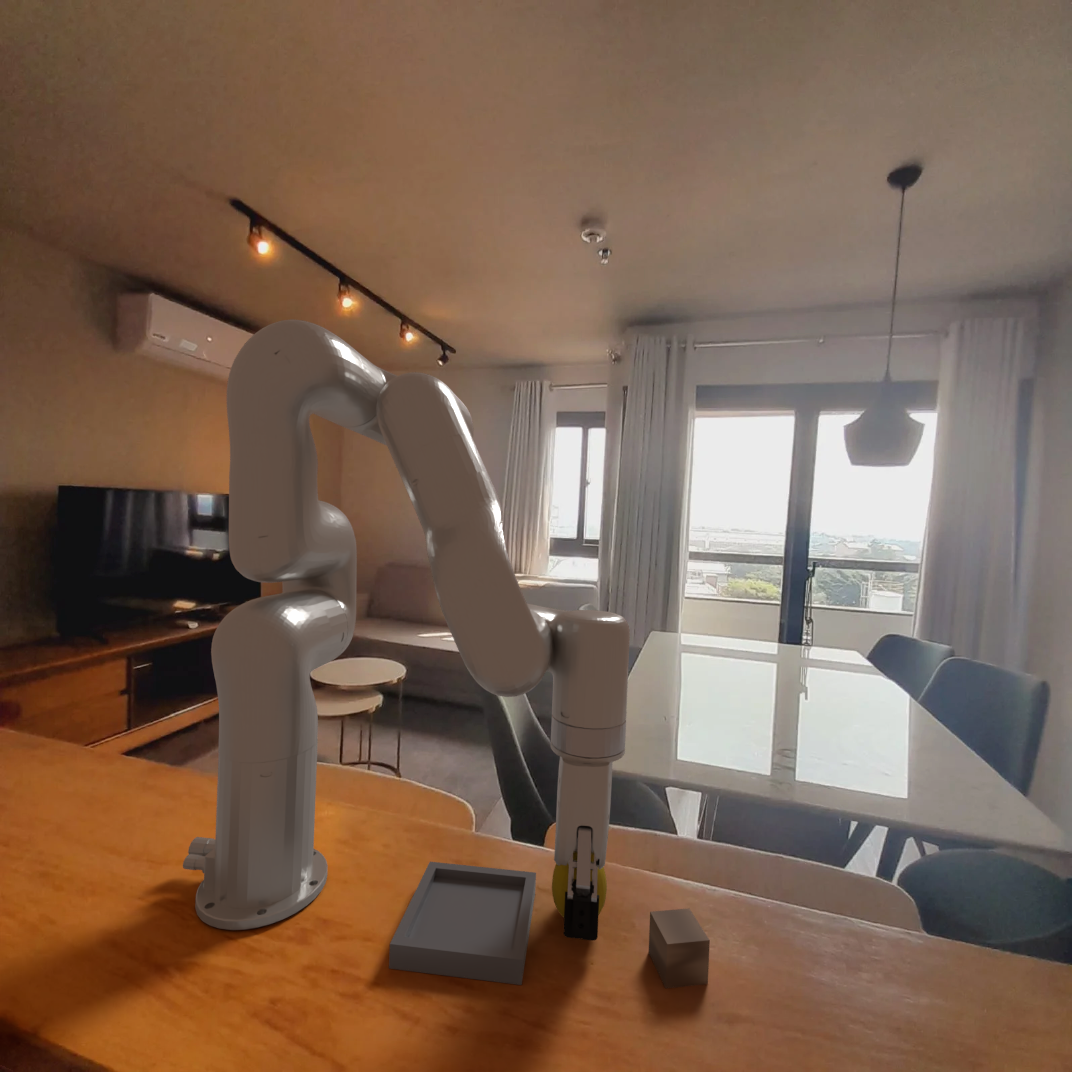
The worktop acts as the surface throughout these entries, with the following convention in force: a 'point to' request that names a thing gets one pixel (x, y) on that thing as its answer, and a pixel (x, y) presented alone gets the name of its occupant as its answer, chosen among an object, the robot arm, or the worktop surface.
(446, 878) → the dish
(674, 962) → the metal cube
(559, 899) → the lemon
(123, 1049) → the worktop surface
